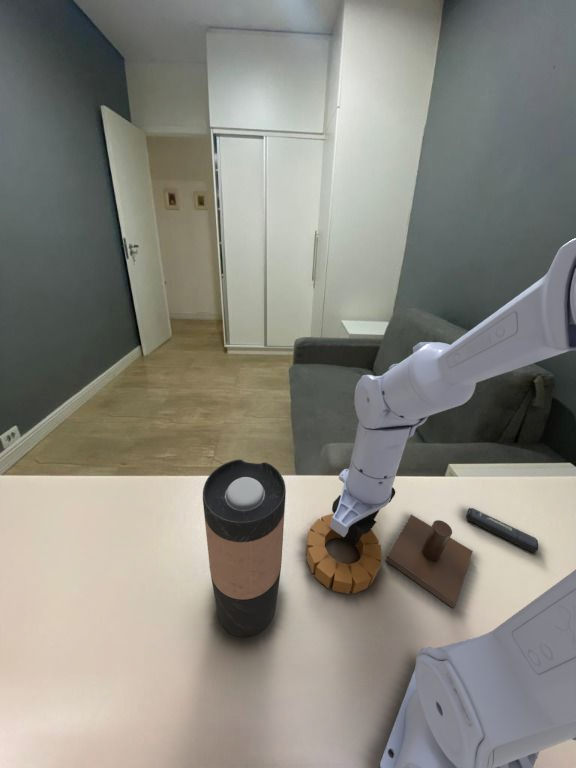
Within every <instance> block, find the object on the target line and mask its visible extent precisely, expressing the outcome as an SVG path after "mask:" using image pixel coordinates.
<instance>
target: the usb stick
mask: <svg viewBox="0 0 576 768" xmlns="http://www.w3.org/2000/svg"><path fill="white" fill-rule="evenodd" d="M465 518H466V519H467V520H468V521H469V522H472V523H474V525H475V524H476V525H477V526H479V527H481V528H483V529H485V530H487V531H489V532H491V533H493V534H495V535H497V536H499V537H500V538H503V539H504V540H507V541H509V542H511V543H513V544H514V545H517V546H519V547H521V548H523V549H525V550H527V551H530V552H531V553H534V552H536V551H539V541H538V539H537V538H536V537H534V536H533V535H530V534H528V533H526V532H524V531H522V530H520V529H518V528H515V527H513V526H511V525H510V524H507V523H505V522H503V521H501V520H498V519H497V518H495V517H493V516H490V515H488V514H486V513H484V512H482V511H480V510H477V509H476V508H474V507H468V509H467V512H466V515H465Z"/></svg>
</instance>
